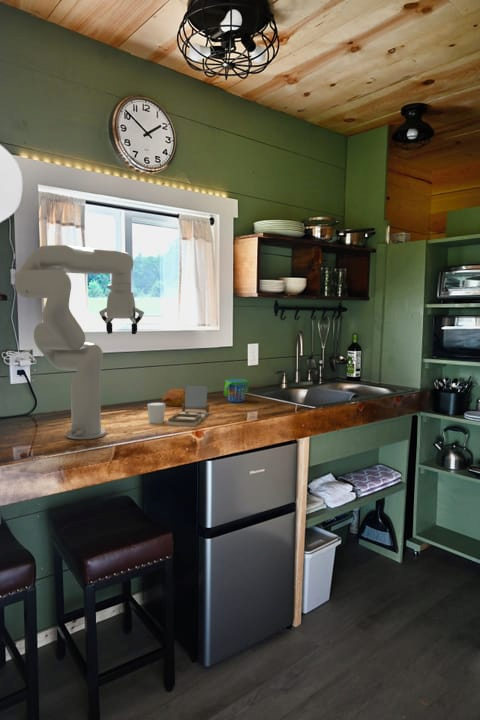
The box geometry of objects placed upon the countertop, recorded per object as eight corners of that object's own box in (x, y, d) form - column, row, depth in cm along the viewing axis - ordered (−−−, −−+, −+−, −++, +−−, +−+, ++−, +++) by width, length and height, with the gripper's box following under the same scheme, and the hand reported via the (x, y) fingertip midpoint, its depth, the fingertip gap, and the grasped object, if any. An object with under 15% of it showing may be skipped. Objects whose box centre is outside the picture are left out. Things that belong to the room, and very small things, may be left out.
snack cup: (240, 398, 244) (240, 377, 243) (255, 401, 236) (256, 379, 235) (216, 401, 233) (216, 380, 232) (231, 405, 225) (232, 383, 224)
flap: (206, 386, 204) (207, 386, 205) (185, 385, 205) (186, 385, 206) (205, 409, 203) (206, 409, 204) (184, 408, 205) (185, 408, 206)
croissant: (176, 404, 237) (175, 387, 237) (201, 403, 228) (200, 386, 228) (155, 408, 226) (153, 390, 226) (180, 407, 216) (178, 389, 217)
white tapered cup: (169, 421, 191) (169, 403, 190) (154, 424, 186) (154, 406, 185) (158, 419, 195) (158, 401, 195) (143, 421, 190) (143, 403, 190)
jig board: (195, 426, 184) (195, 415, 183) (166, 424, 186) (166, 414, 185) (209, 414, 205) (209, 404, 205) (183, 412, 207) (183, 403, 207)
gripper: (95, 288, 185) (96, 334, 187) (139, 288, 182) (140, 334, 184) (103, 288, 192) (104, 332, 194) (146, 288, 189) (147, 333, 191)
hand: (121, 333), depth 189 cm, fingers open, 9 cm apart
